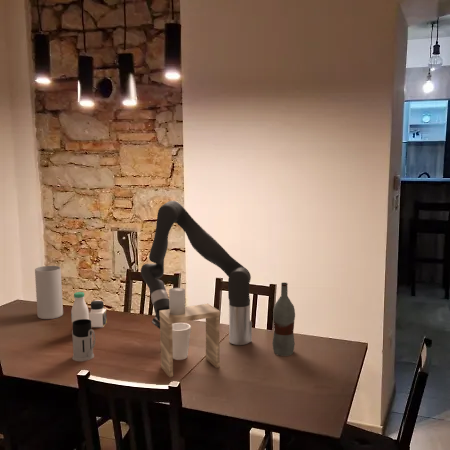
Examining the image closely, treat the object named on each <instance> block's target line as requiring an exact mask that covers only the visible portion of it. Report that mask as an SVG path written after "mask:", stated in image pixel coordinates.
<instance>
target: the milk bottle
mask: <svg viewBox="0 0 450 450" xmlns="http://www.w3.org/2000/svg"><path fill="white" fill-rule="evenodd" d="M73 299H74V302H73V304H72V306H71V307H72V308H71V311H70V313H71V314H70V316H71V323H72V322H74V321H76V320H80V319H88V320H89V308H88V305H87V303H86V301H85V292H83V291H79V292H78V291H76V292H74V293H73ZM72 332H73V327H72V326H71V333H72Z"/></svg>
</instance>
